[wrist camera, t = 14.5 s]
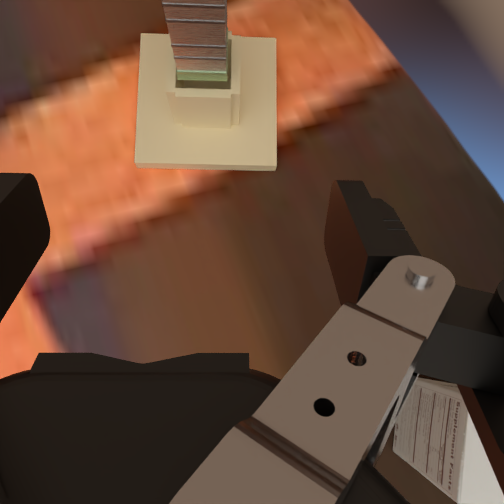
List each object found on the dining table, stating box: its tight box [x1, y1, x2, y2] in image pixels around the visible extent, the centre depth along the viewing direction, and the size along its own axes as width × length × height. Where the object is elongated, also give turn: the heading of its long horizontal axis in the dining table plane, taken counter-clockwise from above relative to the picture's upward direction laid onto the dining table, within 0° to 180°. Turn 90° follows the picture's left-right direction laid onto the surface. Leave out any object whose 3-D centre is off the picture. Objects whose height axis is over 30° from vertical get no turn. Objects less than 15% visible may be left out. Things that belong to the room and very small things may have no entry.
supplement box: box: [393, 378, 504, 504], centre depth 35 cm, size 7×7×13 cm
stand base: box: [134, 31, 277, 171], centre depth 42 cm, size 14×14×8 cm
